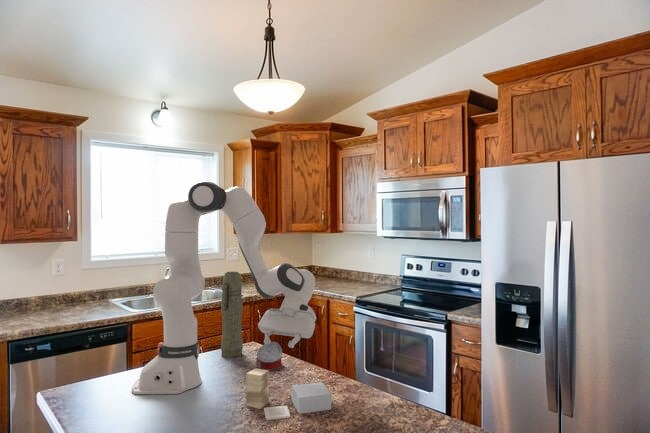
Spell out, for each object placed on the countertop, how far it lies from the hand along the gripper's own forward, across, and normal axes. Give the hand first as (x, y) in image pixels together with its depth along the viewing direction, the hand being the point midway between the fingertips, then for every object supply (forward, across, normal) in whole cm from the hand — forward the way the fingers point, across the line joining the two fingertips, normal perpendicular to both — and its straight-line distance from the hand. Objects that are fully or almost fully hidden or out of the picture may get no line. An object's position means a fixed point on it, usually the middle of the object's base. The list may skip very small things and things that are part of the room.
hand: (278, 345), depth 148 cm
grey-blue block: (+15, +15, +7) cm, 22 cm away
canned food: (-4, -17, +26) cm, 31 cm away
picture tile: (+22, +9, 0) cm, 23 cm away
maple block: (+19, 0, +2) cm, 19 cm away
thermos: (-7, -38, +29) cm, 48 cm away
